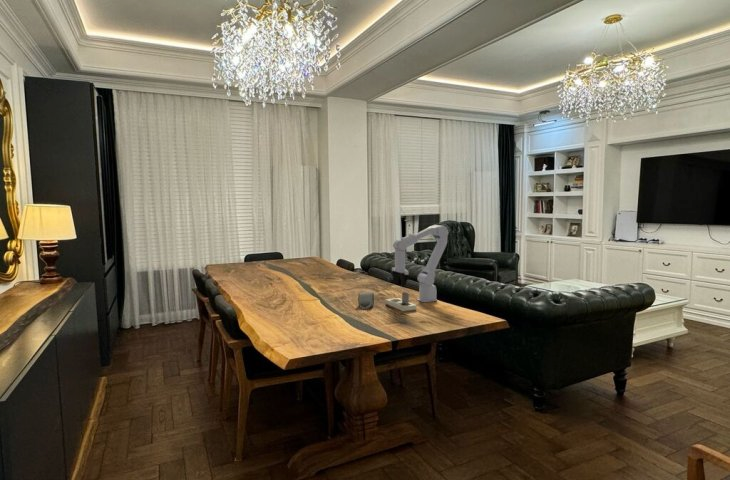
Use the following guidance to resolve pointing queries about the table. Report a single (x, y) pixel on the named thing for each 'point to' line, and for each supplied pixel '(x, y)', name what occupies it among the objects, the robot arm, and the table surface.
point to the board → (400, 305)
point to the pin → (405, 298)
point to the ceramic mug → (366, 300)
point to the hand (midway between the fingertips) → (399, 285)
